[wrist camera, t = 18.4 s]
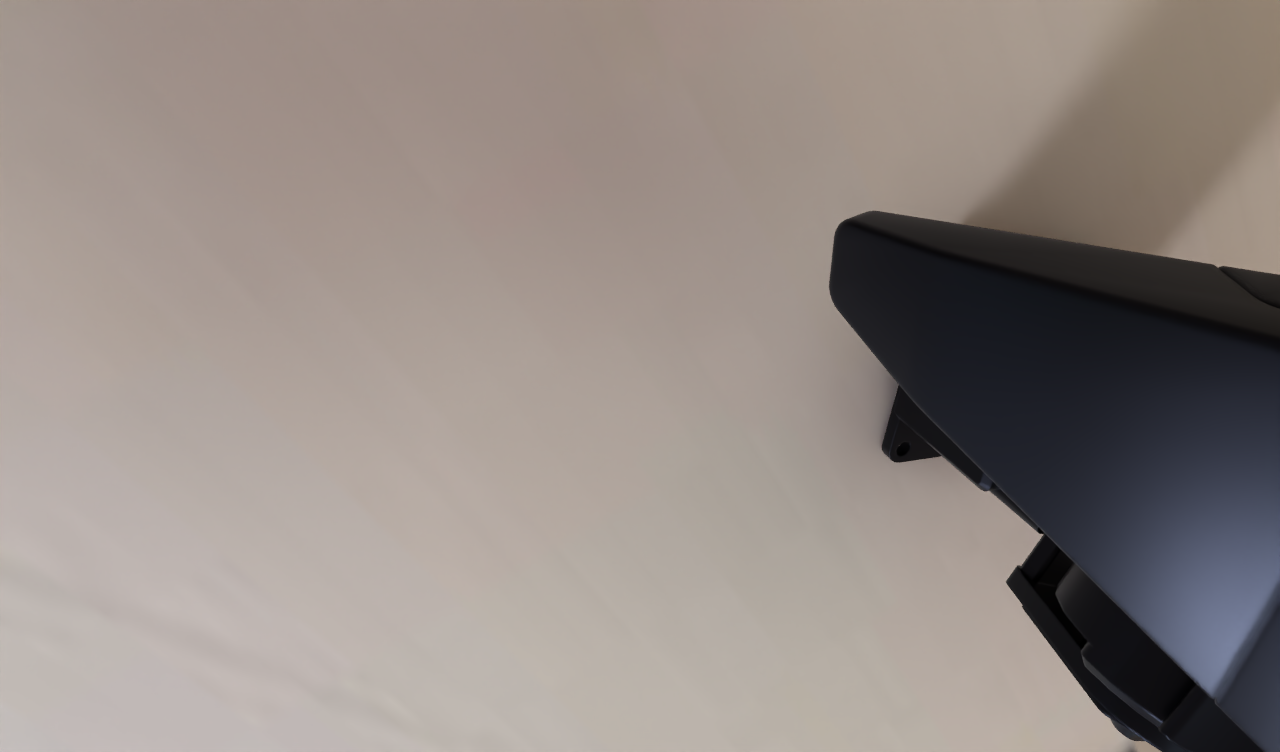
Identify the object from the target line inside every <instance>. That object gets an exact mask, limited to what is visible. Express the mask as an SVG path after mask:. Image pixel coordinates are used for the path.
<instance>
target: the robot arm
mask: <svg viewBox="0 0 1280 752" xmlns="http://www.w3.org/2000/svg"><path fill="white" fill-rule="evenodd" d="M829 290H830V295H831V298H832V301H833V303H834V305H835V307H836V308H837V310H838V311H839V312H840V313H841V314H842V316H843V317H844V318H845V319H846V321H847V322H848V323H849V324H850V325H851V327H852V328H853V329H854V330H855V332H856V333H857V334H858V335H859V336H860V338H861V339H862V340H863V341H864V343H865V344H866V345H867V346H868V347H869V349H870V350H871V351H872V352H873V354H874V355H875V356H876V357H877V358H878V360H879V361H880V362H881V363H882V365H883V366H884V367H885V368H886V369H887V371H888V372H889V373H890V374H891V375H892V377H893V378H894V379H895V380H896V382H897V383H898V384H899V386H898V389H897V393H896V397H895V400H894V404H893V407H892V411H891V415H890V418H889V422H888V426H887V429H886V433H885V436H884V440H883V444H882V450H883V452H884V454H885V455H887V456H888V457H889V458H890V459H891V460H892V461H894V462H906V461H913V460H919V459H926V458H933V457H939V456H943V457H944V458H945V459H946V460H947V461H948V462H950V463H951V464H952V465H953V466H954V467H955V468H956V469H958V470H959V471H960V472H961V473H962V474H963V475H965V476H966V477H967V478H968V479H969V480H970V481H971V482H973V483H974V484H975V485H976V486H977V487H978V488H980V489H981V490H983V491H990V492H991V493H993V494H994V495H995V496H996V497H997V498H998V499H1000V500H1001V501H1002V502H1003V503H1004V504H1005V505H1007V506H1008V507H1009V508H1010V509H1011V510H1012V511H1014V512H1015V513H1016V514H1017V515H1018V516H1019V517H1021V518H1022V519H1023V520H1024V521H1025V522H1026V523H1028V524H1029V525H1030V526H1031V527H1032V528H1033V529H1035V530H1036V531H1037V532H1038V533H1039V534H1044V535H1043V536H1042V538H1041V539H1040V541H1039V542H1038V543H1037V545H1036V546H1035V548H1034V549H1033V550H1032V552H1031V553H1030V555H1029V556H1028V557H1027V559H1026V560H1025V562H1024V563H1023V564H1022V566H1017V567H1016V568H1015V570H1014V571H1013V572H1012V574H1011V575H1010V577H1009V578H1008V579H1007V581H1006V583H1007V585H1008V586H1009V587H1010V589H1011V590H1012V591H1013V593H1014V594H1015V595H1016V597H1017V598H1018V599H1019V601H1020V602H1021V603H1022V605H1023V606H1022V607H1023V609H1024V611H1025V612H1026V613H1027V615H1028V616H1029V617H1030V619H1031V620H1032V621H1033V623H1034V624H1035V625H1036V627H1037V628H1038V629H1039V631H1040V632H1041V633H1042V635H1043V636H1044V637H1045V639H1046V640H1047V641H1048V643H1049V644H1050V645H1051V646H1052V648H1053V649H1054V650H1055V652H1056V653H1057V654H1058V656H1059V657H1060V658H1061V660H1062V661H1063V662H1064V664H1065V665H1066V666H1067V668H1068V669H1069V670H1070V672H1071V673H1072V674H1073V676H1074V677H1075V678H1076V680H1077V681H1078V682H1079V684H1080V685H1081V686H1082V688H1083V689H1084V690H1085V692H1086V693H1087V694H1088V696H1089V697H1090V698H1091V700H1092V701H1093V702H1094V704H1095V705H1096V706H1097V708H1098V709H1099V710H1100V711H1101V712H1102V713H1103V714H1105V715H1106V716H1107V717H1109V718H1110V719H1111V721H1112V723H1113V725H1114V726H1115V728H1116V729H1117V730H1118V731H1119V732H1120V733H1122V734H1123V735H1124V736H1126V737H1127V738H1129V739H1131V740H1134V741H1146V742H1148V743H1149V744H1151V745H1152V746H1154V747H1156V748H1157V749H1159V750H1160V751H1162V752H1280V275H1278V274H1271V273H1264V272H1258V271H1251V270H1245V269H1239V268H1233V267H1226V266H1221V267H1219V268H1217V267H1216V266H1215V265H1212V264H1206V263H1200V262H1194V261H1188V260H1181V259H1175V258H1169V257H1163V256H1156V255H1150V254H1144V253H1137V252H1131V251H1125V250H1119V249H1112V248H1106V247H1100V246H1094V245H1087V244H1081V243H1075V242H1068V241H1062V240H1056V239H1050V238H1043V237H1037V236H1031V235H1025V234H1018V233H1012V232H1006V231H999V230H993V229H987V228H981V227H974V226H968V225H962V224H956V223H949V222H943V221H937V220H930V219H924V218H918V217H912V216H905V215H899V214H893V213H887V212H880V211H869V212H865V213H862V214H860V215H857V216H854V217H852V218H849V219H846V220H844V221H843V222H842V223H840V224H839V226H838V228H837V230H836V231H835V236H834V244H833V253H832V263H831V272H830V281H829ZM900 444H901V445H900ZM899 445H900V446H899ZM898 446H899V447H898Z"/></svg>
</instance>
